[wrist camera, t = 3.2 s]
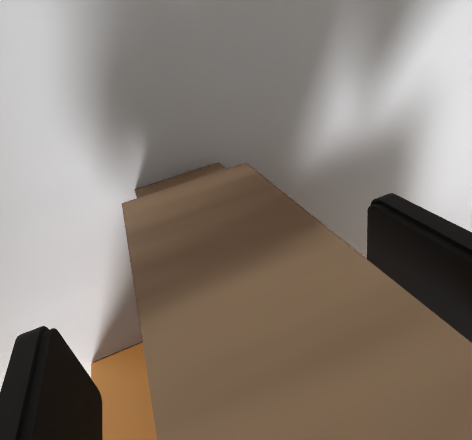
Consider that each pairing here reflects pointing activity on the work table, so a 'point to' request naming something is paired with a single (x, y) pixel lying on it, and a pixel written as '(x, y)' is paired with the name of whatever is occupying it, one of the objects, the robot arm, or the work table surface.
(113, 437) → the orange block with cylinder
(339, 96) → the work table surface
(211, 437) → the tan wooden block
